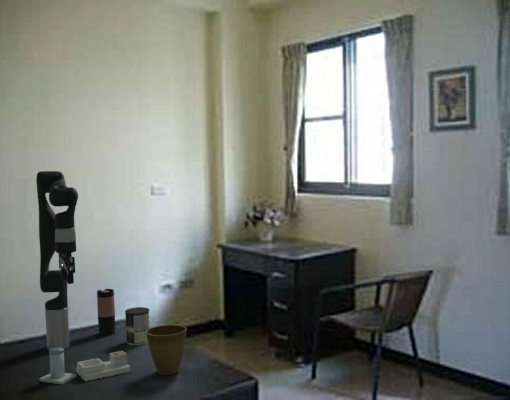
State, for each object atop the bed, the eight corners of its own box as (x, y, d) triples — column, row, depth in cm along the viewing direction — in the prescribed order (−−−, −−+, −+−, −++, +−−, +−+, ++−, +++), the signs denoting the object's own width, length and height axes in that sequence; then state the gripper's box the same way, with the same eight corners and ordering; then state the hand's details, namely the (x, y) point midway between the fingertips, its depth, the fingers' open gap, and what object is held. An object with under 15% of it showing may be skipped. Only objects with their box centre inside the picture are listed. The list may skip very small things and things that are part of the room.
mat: (39, 381, 224) (39, 378, 224) (54, 373, 232) (54, 371, 231) (61, 384, 220) (61, 381, 220) (76, 376, 228) (76, 374, 227)
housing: (76, 372, 232) (75, 357, 231) (120, 363, 241) (119, 348, 240) (85, 381, 223) (84, 365, 222) (130, 371, 231) (129, 356, 231)
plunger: (113, 362, 235) (113, 353, 235) (121, 360, 237) (120, 351, 236) (116, 364, 233) (115, 355, 232) (123, 363, 234) (123, 353, 234)
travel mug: (111, 336, 279) (109, 292, 278) (95, 335, 281) (93, 292, 279) (118, 331, 287) (116, 288, 285) (103, 331, 288) (101, 288, 287)
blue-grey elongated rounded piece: (48, 375, 227) (47, 348, 226) (63, 372, 229) (61, 346, 229) (52, 379, 222) (50, 352, 222) (66, 376, 225) (65, 349, 224)
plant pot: (194, 367, 235) (193, 325, 234) (177, 380, 221) (175, 336, 220) (159, 363, 240) (157, 323, 239) (140, 376, 226) (138, 333, 225)
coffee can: (123, 345, 265) (121, 312, 264) (131, 338, 275) (129, 307, 274) (146, 345, 264) (144, 313, 263) (153, 338, 274) (152, 307, 273)
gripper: (50, 239, 240) (53, 280, 241) (60, 242, 228) (62, 286, 229) (70, 237, 244) (72, 277, 245) (80, 240, 232) (82, 283, 233)
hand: (67, 281), depth 237 cm, fingers open, 8 cm apart
